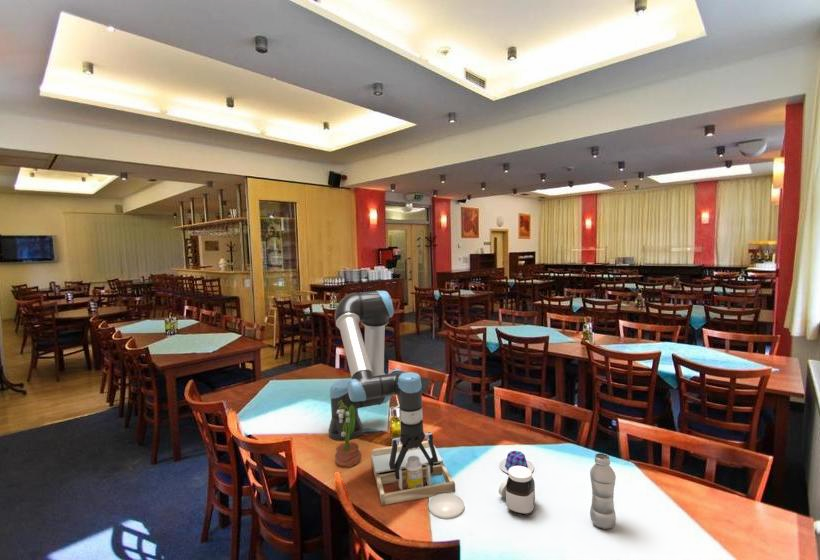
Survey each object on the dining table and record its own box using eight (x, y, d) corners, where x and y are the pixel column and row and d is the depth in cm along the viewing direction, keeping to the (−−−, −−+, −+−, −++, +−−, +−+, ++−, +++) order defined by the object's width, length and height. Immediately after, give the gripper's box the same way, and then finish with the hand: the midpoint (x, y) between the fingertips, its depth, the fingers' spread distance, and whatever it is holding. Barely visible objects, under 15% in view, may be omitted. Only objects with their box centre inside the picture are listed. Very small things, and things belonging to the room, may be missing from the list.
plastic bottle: (585, 518, 116) (584, 451, 115) (607, 515, 117) (607, 449, 116) (597, 533, 110) (596, 463, 109) (621, 531, 111) (620, 461, 109)
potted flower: (354, 472, 147) (350, 405, 145) (329, 470, 149) (324, 405, 147) (364, 455, 158) (361, 393, 157) (341, 454, 160) (337, 393, 159)
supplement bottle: (410, 481, 139) (408, 453, 138) (425, 484, 137) (424, 455, 136) (404, 491, 134) (402, 461, 133) (419, 494, 132) (418, 464, 131)
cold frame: (371, 463, 152) (371, 456, 152) (433, 453, 157) (433, 446, 157) (381, 505, 127) (381, 496, 127) (455, 491, 132) (454, 483, 132)
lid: (371, 455, 151) (370, 449, 151) (433, 445, 157) (433, 439, 156) (375, 473, 139) (375, 466, 139) (443, 461, 144) (442, 455, 144)
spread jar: (529, 522, 116) (528, 483, 115) (491, 510, 122) (490, 473, 121) (539, 499, 126) (538, 463, 125) (504, 489, 132) (503, 455, 131)
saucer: (424, 499, 129) (424, 496, 129) (457, 493, 131) (457, 490, 131) (434, 522, 118) (434, 518, 118) (469, 515, 120) (469, 511, 120)
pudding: (540, 467, 144) (540, 453, 144) (522, 481, 136) (521, 466, 136) (511, 456, 153) (511, 442, 153) (492, 468, 145) (492, 454, 145)
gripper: (380, 429, 128) (384, 497, 129) (446, 420, 132) (449, 485, 134) (377, 420, 135) (381, 484, 137) (439, 411, 140) (442, 473, 141)
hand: (414, 484), depth 135 cm, fingers open, 9 cm apart
